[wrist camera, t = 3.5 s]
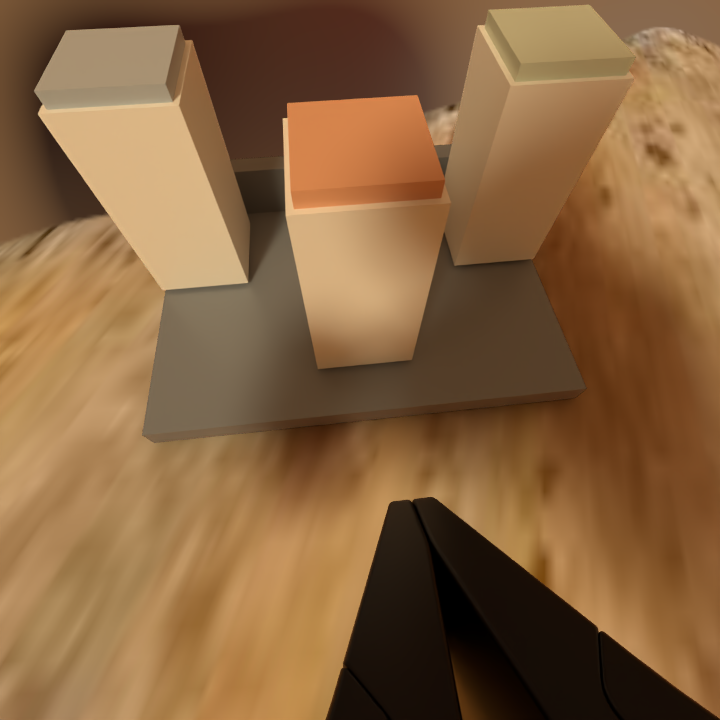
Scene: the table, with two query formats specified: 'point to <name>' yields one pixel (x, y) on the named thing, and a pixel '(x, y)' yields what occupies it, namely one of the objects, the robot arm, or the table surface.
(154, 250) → the key
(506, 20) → the beige upright block
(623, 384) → the table surface
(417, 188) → the key
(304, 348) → the keypad board
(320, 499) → the table surface
